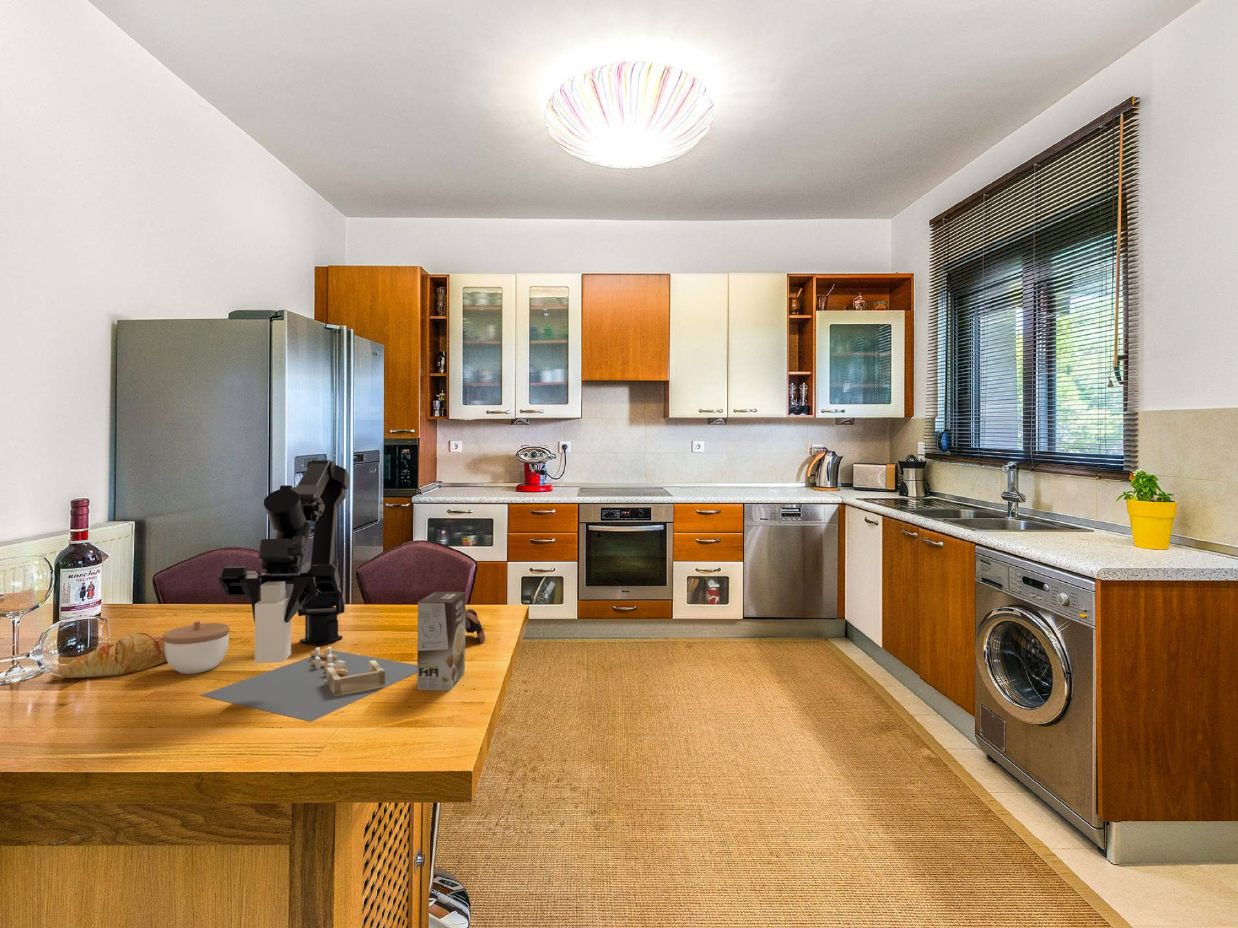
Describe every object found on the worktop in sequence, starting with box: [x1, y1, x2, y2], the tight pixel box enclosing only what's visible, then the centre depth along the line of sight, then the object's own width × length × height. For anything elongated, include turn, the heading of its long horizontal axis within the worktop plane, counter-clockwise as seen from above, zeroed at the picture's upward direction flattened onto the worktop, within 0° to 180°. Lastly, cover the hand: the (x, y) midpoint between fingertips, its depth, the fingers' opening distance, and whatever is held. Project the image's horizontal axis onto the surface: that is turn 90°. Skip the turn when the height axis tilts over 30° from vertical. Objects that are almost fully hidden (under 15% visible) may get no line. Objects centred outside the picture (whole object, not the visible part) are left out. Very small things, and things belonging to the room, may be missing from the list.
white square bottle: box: [254, 581, 292, 664], centre depth 112 cm, size 4×4×13 cm
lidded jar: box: [162, 620, 230, 675], centre depth 125 cm, size 11×11×9 cm
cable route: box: [309, 646, 348, 676], centre depth 127 cm, size 16×5×2 cm, turn 34°
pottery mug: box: [465, 608, 486, 645], centre depth 147 cm, size 12×10×8 cm
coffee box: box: [416, 591, 466, 691], centre depth 120 cm, size 9×6×16 cm
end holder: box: [326, 660, 386, 696], centre depth 118 cm, size 8×8×3 cm
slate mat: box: [199, 649, 417, 723], centre depth 119 cm, size 26×28×1 cm
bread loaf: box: [56, 632, 168, 679], centre depth 127 cm, size 21×10×8 cm, turn 138°
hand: (270, 621), depth 110 cm, fingers closed on white square bottle, 4 cm apart
